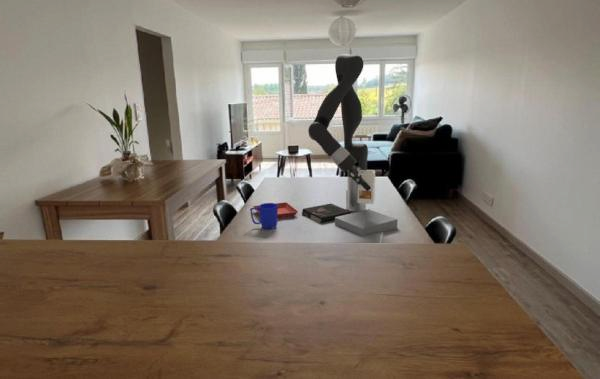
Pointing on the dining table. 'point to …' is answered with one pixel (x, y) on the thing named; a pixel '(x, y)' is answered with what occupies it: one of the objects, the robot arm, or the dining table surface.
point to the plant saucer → (283, 210)
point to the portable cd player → (324, 213)
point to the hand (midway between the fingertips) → (370, 187)
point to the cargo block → (366, 194)
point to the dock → (366, 222)
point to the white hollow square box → (370, 180)
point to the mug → (267, 215)
